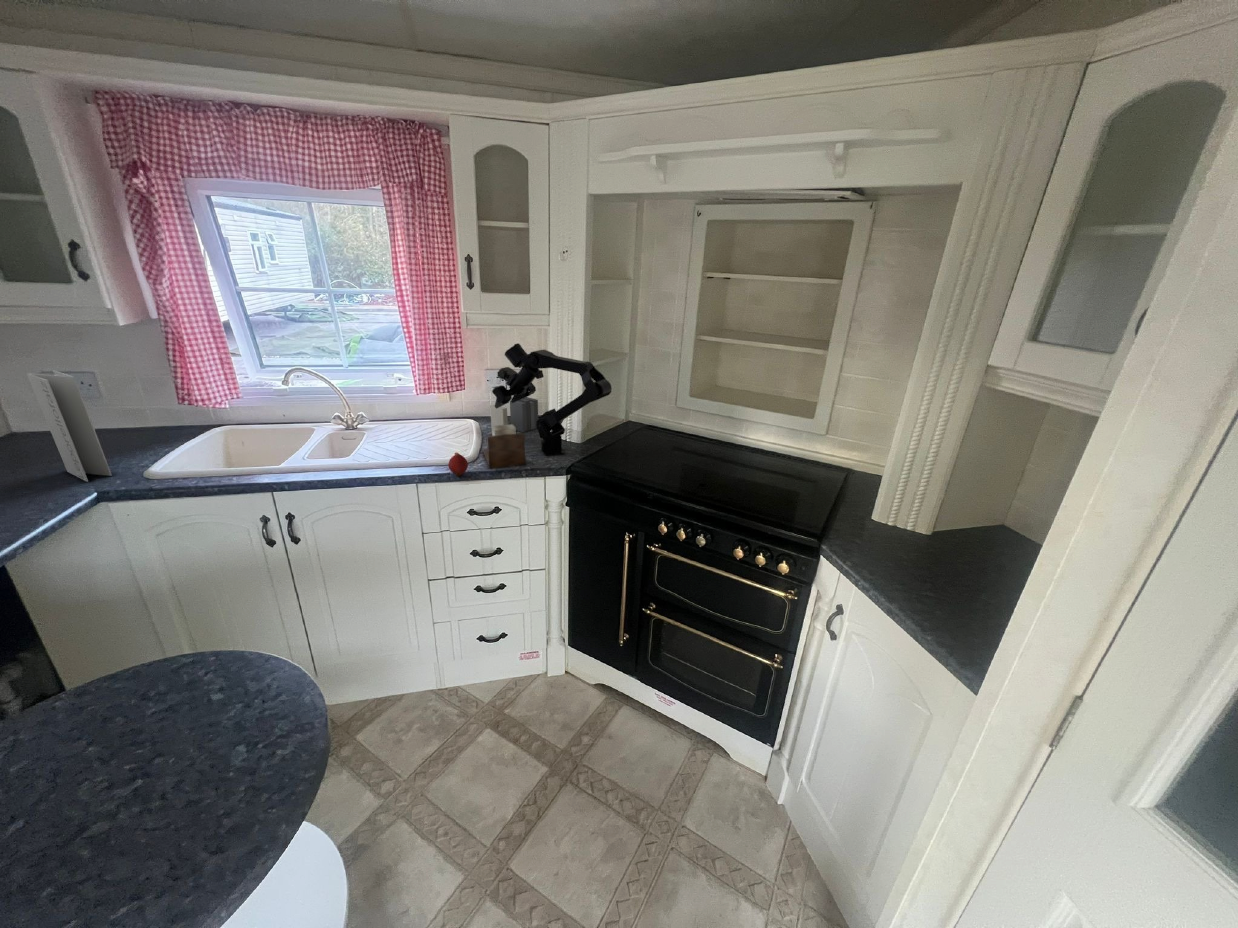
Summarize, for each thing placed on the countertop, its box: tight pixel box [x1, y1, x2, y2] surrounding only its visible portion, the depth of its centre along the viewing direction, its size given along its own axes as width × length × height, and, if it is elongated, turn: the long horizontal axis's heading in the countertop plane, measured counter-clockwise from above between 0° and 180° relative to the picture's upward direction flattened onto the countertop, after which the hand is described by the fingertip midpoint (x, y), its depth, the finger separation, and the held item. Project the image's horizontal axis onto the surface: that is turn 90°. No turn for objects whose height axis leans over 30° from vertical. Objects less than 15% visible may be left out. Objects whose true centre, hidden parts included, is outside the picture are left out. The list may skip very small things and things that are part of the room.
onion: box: [448, 451, 469, 477], centre depth 157 cm, size 6×6×8 cm
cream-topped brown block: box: [482, 423, 526, 469], centre depth 171 cm, size 12×16×13 cm
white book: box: [489, 404, 509, 436], centre depth 193 cm, size 2×7×12 cm, turn 56°
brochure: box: [26, 370, 113, 483], centre depth 143 cm, size 14×6×30 cm, turn 62°
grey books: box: [509, 396, 539, 433], centre depth 203 cm, size 9×7×13 cm
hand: (503, 404), depth 184 cm, fingers open, 9 cm apart
